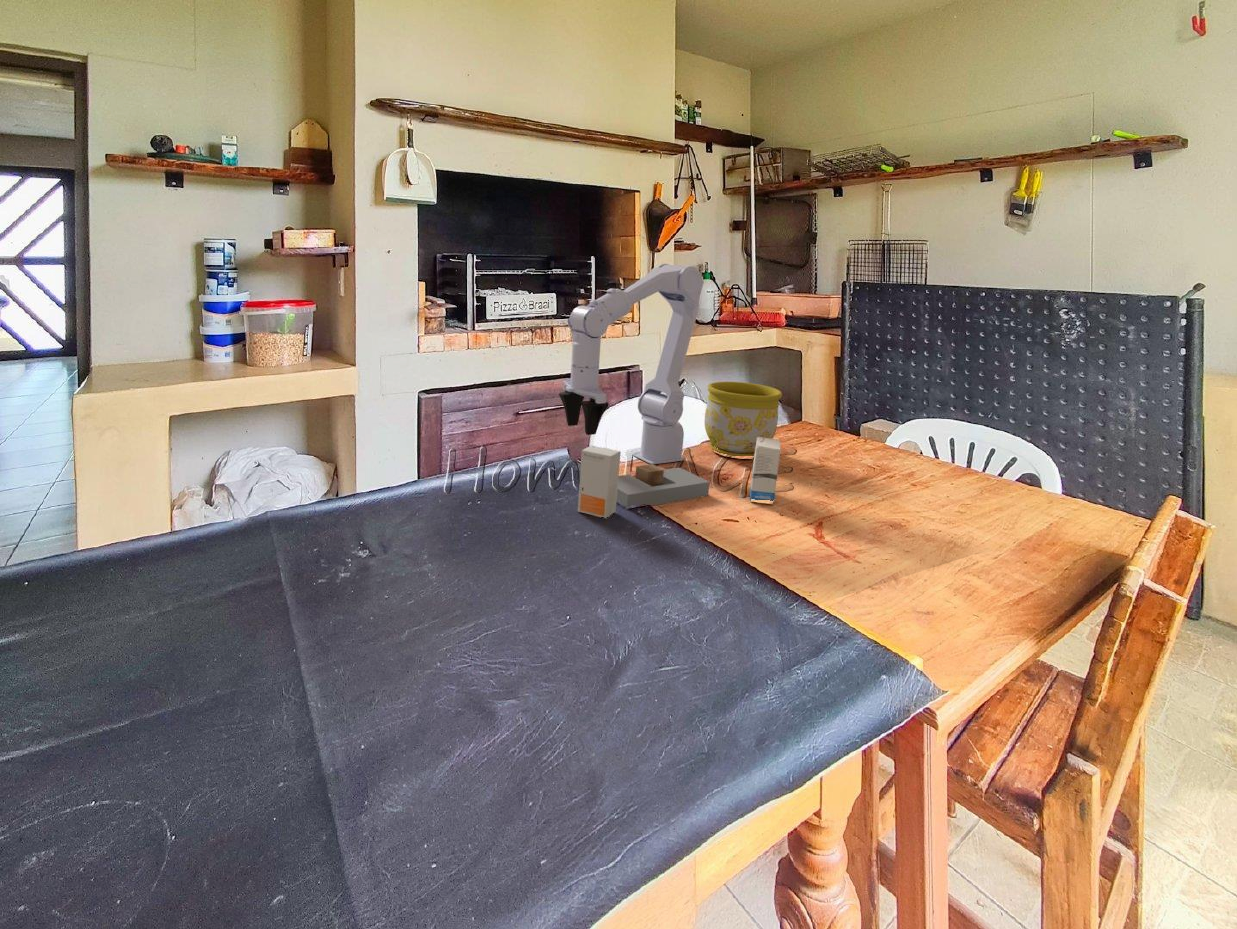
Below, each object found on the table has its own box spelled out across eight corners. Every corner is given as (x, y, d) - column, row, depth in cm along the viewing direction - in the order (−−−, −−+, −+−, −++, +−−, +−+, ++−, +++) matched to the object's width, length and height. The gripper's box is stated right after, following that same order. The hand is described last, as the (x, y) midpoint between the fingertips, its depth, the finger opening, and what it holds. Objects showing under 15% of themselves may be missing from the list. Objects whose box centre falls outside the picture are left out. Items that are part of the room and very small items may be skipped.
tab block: (650, 487, 142) (652, 464, 141) (661, 493, 139) (663, 470, 138) (634, 489, 140) (636, 466, 139) (645, 495, 137) (647, 472, 135)
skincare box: (576, 512, 125) (580, 449, 122) (587, 505, 129) (591, 444, 126) (606, 519, 123) (611, 456, 120) (616, 512, 127) (621, 450, 123)
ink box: (773, 506, 137) (782, 449, 133) (748, 502, 137) (756, 446, 134) (772, 492, 145) (780, 438, 141) (749, 489, 145) (756, 435, 142)
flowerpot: (744, 441, 184) (752, 380, 179) (787, 460, 169) (798, 395, 164) (687, 445, 176) (693, 381, 171) (727, 466, 161) (736, 397, 156)
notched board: (677, 480, 147) (679, 467, 146) (708, 495, 139) (709, 481, 139) (598, 492, 136) (599, 478, 136) (626, 509, 129) (628, 494, 128)
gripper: (551, 360, 145) (548, 422, 149) (586, 372, 134) (582, 440, 138) (580, 359, 149) (576, 420, 153) (616, 371, 137) (612, 437, 141)
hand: (581, 429), depth 146 cm, fingers open, 7 cm apart
